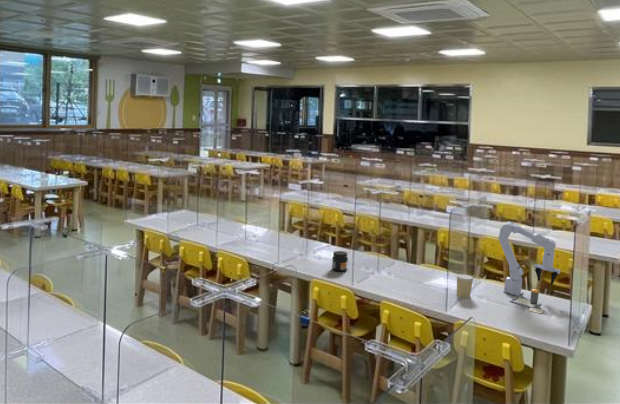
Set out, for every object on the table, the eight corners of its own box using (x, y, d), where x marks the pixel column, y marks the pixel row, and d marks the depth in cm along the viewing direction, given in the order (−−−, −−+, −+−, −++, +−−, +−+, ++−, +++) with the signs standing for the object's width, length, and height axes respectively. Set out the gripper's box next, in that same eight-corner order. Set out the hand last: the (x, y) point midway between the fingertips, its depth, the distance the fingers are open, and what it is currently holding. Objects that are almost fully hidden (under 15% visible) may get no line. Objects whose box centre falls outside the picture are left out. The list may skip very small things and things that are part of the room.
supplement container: (350, 271, 353) (351, 254, 351) (337, 273, 348) (338, 255, 346) (341, 266, 362) (342, 250, 360) (328, 268, 357) (329, 251, 355)
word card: (528, 310, 295) (528, 309, 295) (530, 307, 299) (530, 307, 299) (541, 313, 291) (541, 313, 291) (543, 311, 295) (543, 310, 295)
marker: (528, 303, 305) (530, 290, 303) (531, 301, 307) (533, 288, 306) (535, 305, 302) (537, 291, 300) (538, 303, 305) (540, 290, 303)
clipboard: (509, 301, 308) (510, 299, 307) (517, 297, 315) (517, 295, 314) (533, 308, 298) (533, 306, 298) (540, 304, 305) (541, 302, 305)
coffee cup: (468, 293, 319) (470, 274, 317) (473, 298, 310) (475, 279, 308) (453, 292, 319) (454, 274, 317) (457, 298, 310) (459, 279, 308)
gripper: (533, 258, 312) (530, 280, 315) (558, 264, 302) (555, 286, 305) (537, 256, 317) (535, 278, 320) (562, 262, 307) (559, 284, 310)
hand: (545, 282), depth 313 cm, fingers open, 7 cm apart
